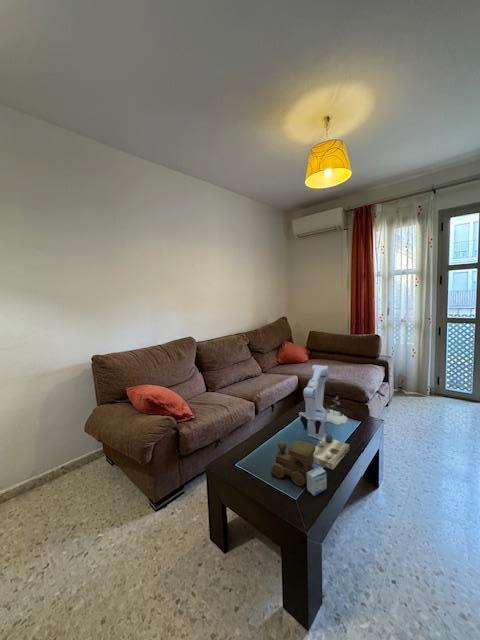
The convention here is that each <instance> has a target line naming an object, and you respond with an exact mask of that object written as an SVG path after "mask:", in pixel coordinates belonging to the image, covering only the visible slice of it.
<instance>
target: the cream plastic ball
mask: <svg viewBox="0 0 480 640" xmlns="http://www.w3.org/2000/svg"><path fill="white" fill-rule="evenodd" d="M325 455H326V457H327V458H330V457H331V453H330V452H329V451H327V452H326V453H325Z"/></svg>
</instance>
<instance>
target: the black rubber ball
mask: <svg viewBox="0 0 480 640" xmlns="http://www.w3.org/2000/svg"><path fill="white" fill-rule="evenodd" d="M325 439H326V441H327V442H331V441H332V440H333V439H334V438H333V436H332V435H331V434H327V435H326V436H325Z"/></svg>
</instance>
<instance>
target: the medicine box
mask: <svg viewBox="0 0 480 640" xmlns="http://www.w3.org/2000/svg"><path fill="white" fill-rule="evenodd" d="M327 486H328V485H327V471H326V470H325V469H323V468H322V467H321V466H318V467H315V468H314V469H313V470H311V471H309V472H307V483H306V490H307V491H308V492H309V493H310V494H311V495H312V496H313V497H315V496H317V495H319V494H321V493H322V492H324V491H326V490H327V488H328V487H327Z"/></svg>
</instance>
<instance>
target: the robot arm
mask: <svg viewBox="0 0 480 640" xmlns="http://www.w3.org/2000/svg"><path fill="white" fill-rule="evenodd" d="M311 373H312V377H311V379H309V380H308V382H307V386H306V387H304V389H303V398H304V401H305V404H304V405H305V412H302V411H300V412H298V417H299V418H300V419H299V420H300V422H301V423H302V426H303V429H304V431H307V433H308V434H307V436H308V437H311V438H312V439H313V438H314V439H317V440H318V441H320V440H322V439H323V438H324V437H325V436H326V435H328V434H327V433H325V423H326V422H327V421H326V420H327V411H326V410H327V409H326V408H324V395H325V384H326V381H328V380H329V375H330V368H329V366H328V365H320V364H313V365H312V366H311ZM320 411H321V412H320Z"/></svg>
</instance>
